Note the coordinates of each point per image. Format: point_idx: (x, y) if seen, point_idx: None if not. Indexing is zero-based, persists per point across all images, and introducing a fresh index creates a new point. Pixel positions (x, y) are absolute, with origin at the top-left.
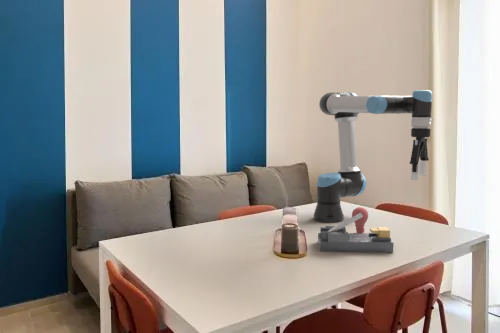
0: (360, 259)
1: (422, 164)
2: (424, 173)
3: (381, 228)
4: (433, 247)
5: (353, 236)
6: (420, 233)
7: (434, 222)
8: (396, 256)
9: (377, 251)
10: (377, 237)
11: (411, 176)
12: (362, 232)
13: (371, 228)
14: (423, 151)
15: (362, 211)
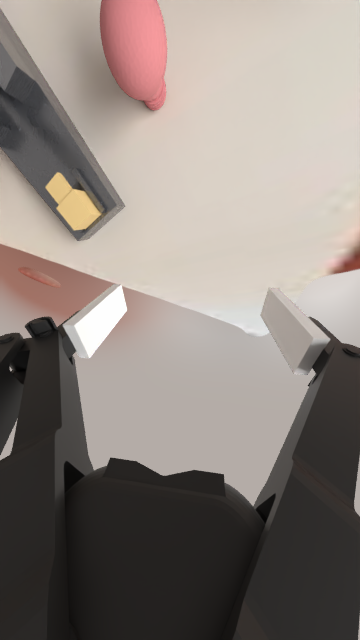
0: (17, 199)
1: (289, 337)
2: (265, 317)
3: (71, 205)
4: (156, 286)
5: (38, 132)
6: (229, 249)
7: (341, 255)
8: (78, 248)
9: None
10: None
11: (106, 291)
12: (148, 106)
13: (57, 178)
14: (279, 457)
15: (113, 59)
